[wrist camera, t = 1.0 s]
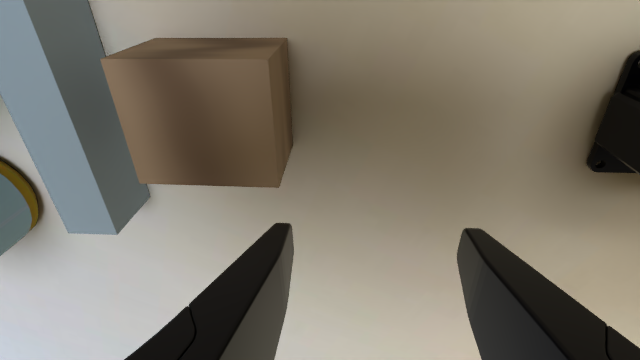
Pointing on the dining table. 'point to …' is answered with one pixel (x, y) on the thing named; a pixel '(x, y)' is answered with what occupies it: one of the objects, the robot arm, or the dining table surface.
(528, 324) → the robot arm
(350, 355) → the dining table surface
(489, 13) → the dining table surface
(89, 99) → the light blue block
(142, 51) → the walnut brick
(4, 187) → the bottle
